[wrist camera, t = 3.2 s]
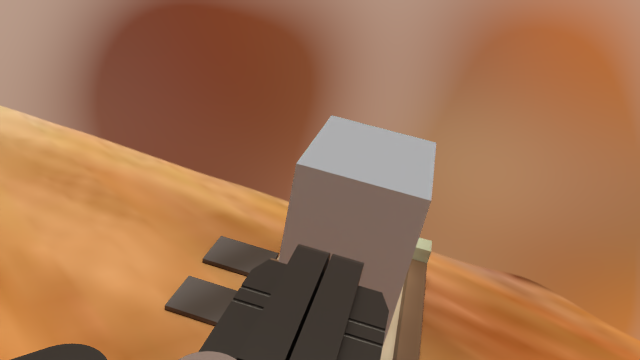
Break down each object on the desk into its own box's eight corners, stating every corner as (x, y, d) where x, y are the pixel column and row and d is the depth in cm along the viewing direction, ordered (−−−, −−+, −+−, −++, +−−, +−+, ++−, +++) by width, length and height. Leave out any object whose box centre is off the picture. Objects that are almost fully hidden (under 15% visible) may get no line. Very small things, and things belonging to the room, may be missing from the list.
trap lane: (101, 388, 24) (100, 343, 23) (236, 219, 39) (240, 186, 38) (398, 494, 22) (416, 452, 21) (420, 274, 37) (431, 241, 36)
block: (252, 403, 24) (296, 163, 18) (288, 321, 29) (331, 115, 24) (352, 437, 23) (431, 200, 18) (371, 347, 29) (436, 142, 23)
